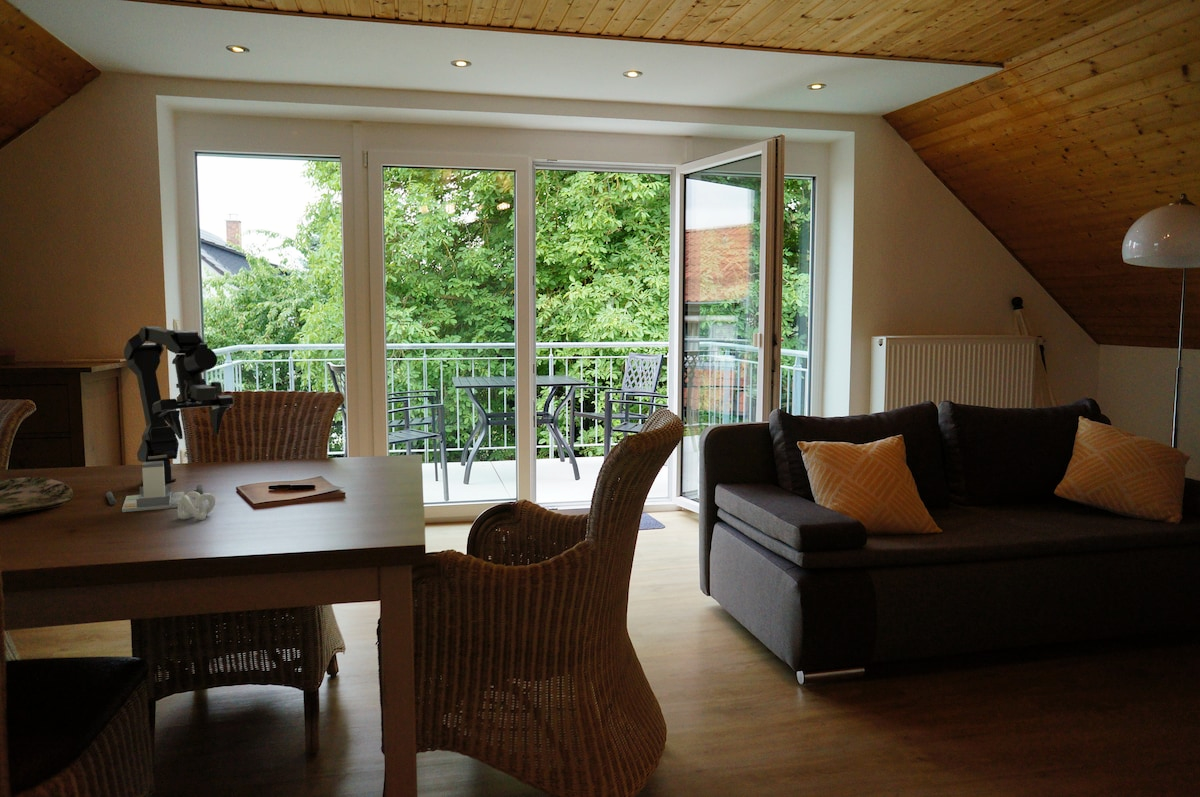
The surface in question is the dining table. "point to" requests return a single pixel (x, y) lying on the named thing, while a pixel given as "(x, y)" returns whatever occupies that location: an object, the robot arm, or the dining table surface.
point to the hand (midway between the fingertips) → (199, 437)
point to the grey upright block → (153, 479)
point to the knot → (195, 505)
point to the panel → (152, 501)
